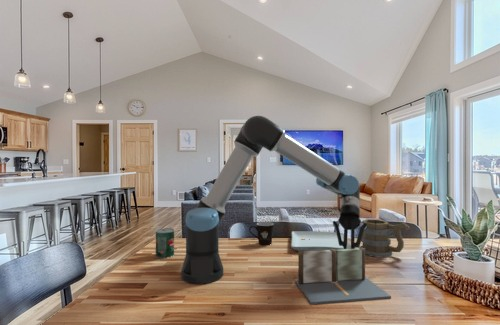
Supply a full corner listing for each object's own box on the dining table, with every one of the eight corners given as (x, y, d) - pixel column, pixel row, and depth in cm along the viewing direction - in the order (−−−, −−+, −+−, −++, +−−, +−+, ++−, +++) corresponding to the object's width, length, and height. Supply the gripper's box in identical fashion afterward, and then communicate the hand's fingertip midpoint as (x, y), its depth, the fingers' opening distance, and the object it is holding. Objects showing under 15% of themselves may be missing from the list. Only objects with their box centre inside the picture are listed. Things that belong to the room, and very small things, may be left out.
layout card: (311, 304, 79) (311, 301, 79) (295, 281, 93) (295, 279, 93) (390, 298, 82) (390, 295, 82) (363, 277, 97) (363, 275, 97)
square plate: (291, 237, 150) (291, 230, 150) (343, 239, 146) (343, 232, 146) (291, 253, 124) (291, 244, 124) (354, 256, 119) (354, 247, 119)
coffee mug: (276, 242, 139) (276, 223, 139) (268, 247, 131) (268, 226, 131) (256, 239, 145) (256, 220, 145) (248, 243, 138) (248, 223, 138)
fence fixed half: (299, 284, 90) (299, 252, 90) (297, 281, 92) (297, 250, 92) (337, 282, 92) (337, 250, 92) (334, 279, 94) (334, 248, 94)
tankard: (355, 252, 124) (355, 219, 124) (367, 246, 133) (367, 215, 133) (403, 263, 110) (403, 226, 110) (413, 256, 118) (413, 221, 118)
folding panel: (337, 281, 92) (337, 250, 92) (335, 278, 94) (335, 249, 94) (366, 279, 93) (366, 249, 93) (363, 277, 95) (363, 247, 95)
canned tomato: (175, 256, 119) (175, 231, 119) (156, 259, 115) (156, 233, 115) (172, 251, 126) (172, 227, 126) (154, 253, 123) (154, 229, 123)
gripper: (333, 203, 114) (328, 256, 98) (367, 204, 109) (368, 260, 93) (334, 213, 119) (330, 265, 103) (366, 215, 114) (368, 270, 98)
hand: (348, 263), depth 98 cm, fingers closed
